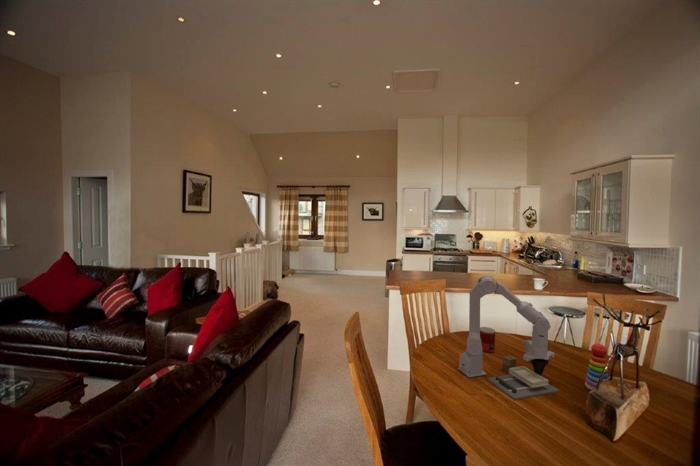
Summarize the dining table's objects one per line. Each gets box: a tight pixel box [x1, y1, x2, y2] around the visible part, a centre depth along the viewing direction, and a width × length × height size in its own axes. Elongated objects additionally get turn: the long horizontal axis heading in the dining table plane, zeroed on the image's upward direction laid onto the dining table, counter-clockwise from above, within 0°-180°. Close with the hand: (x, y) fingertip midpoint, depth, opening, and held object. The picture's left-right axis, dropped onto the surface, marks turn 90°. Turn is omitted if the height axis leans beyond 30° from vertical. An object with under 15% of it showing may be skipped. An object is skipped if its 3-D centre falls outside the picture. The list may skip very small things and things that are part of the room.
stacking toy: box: [584, 343, 610, 391], centre depth 124 cm, size 8×8×19 cm
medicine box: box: [524, 339, 532, 362], centre depth 149 cm, size 8×4×9 cm, turn 179°
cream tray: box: [508, 365, 549, 388], centre depth 127 cm, size 8×12×3 cm, turn 16°
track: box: [486, 373, 560, 401], centre depth 126 cm, size 22×15×2 cm
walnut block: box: [502, 354, 518, 374], centre depth 139 cm, size 4×4×6 cm
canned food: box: [480, 326, 496, 354], centre depth 160 cm, size 8×8×11 cm
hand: (538, 375), depth 128 cm, fingers closed
